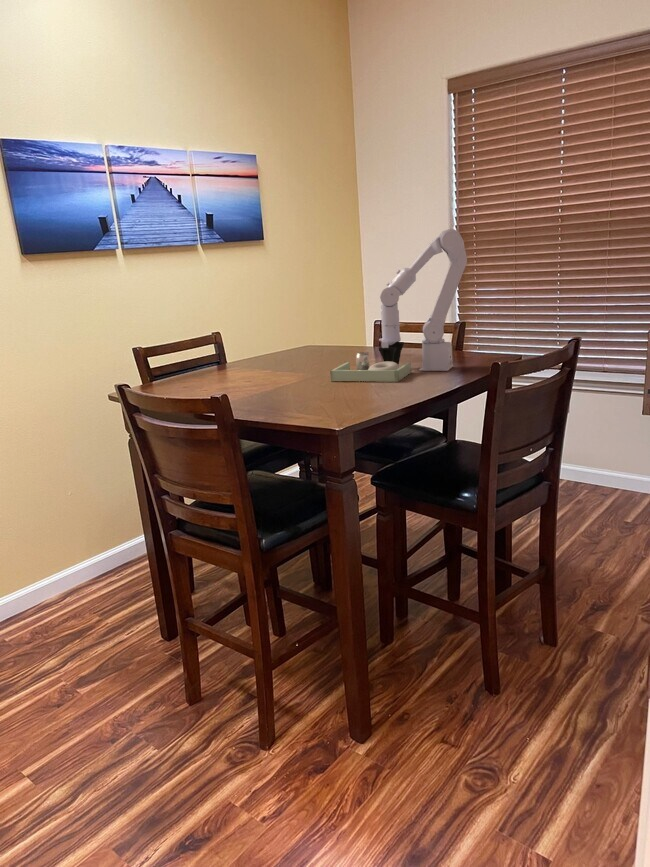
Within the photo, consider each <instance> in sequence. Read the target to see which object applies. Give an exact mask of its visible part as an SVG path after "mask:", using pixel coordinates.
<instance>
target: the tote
mask: <svg viewBox="0 0 650 867" xmlns="http://www.w3.org/2000/svg"><path fill="white" fill-rule="evenodd" d="M411 364H412V362H411V361H407V362H406V363H404V364H402V365H401V366H399V368H398V369H396V370H357V369H351V364H350V361H349V362H348V361H347V362H344V363H342V364H340V365H338V366H337V367H335V368H333V369H331V370H329V371H330V372H329V374H330V382H331V381H359V382H358V383H366V382H365V381H379V382H378V383H399V382H401V381H402V380H403V379H405V378H406V377H407V376H409V375H410V374H411V373H412V365H411ZM408 374H409V375H408ZM404 377H405V378H404ZM400 380H401V381H400ZM360 381H362V382H360ZM363 381H364V382H363Z"/></svg>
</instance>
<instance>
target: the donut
mask: <svg viewBox="0 0 650 867" xmlns="http://www.w3.org/2000/svg"><path fill="white" fill-rule="evenodd" d="M398 368H400V365H399V364H397V363H395V362H391V361H385V362H384V361H379V362H376V363H374V364H372V365H369V369H368V370H396V369H398Z"/></svg>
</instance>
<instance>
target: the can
mask: <svg viewBox="0 0 650 867" xmlns="http://www.w3.org/2000/svg"><path fill="white" fill-rule="evenodd" d="M369 355H370V353H369V352H367V351H362V352H355V363H356V365H355V366H356V368H355V369H356V370H368V369H369V367H370V356H369Z"/></svg>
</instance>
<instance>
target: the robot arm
mask: <svg viewBox="0 0 650 867" xmlns="http://www.w3.org/2000/svg"><path fill="white" fill-rule="evenodd" d="M465 247H466V246H465V241H464V239H463V237H462V235H461V234H460V232H459V231H458V230H456V229H454V228H448V229H446V230H444V231H442V232H441V233H440V234H439V235H438V236H437V237H435V238H434V239H432V241H431V242H430V243H428V244H427V245H426V246H425V248H424V249H423V250H422V251H421V252H420V254H419V255H418V256H417V257H416V259H415V260H414V261H413V262H412V264H410V265H409V267H403V268H401V270H400V269H398V270H396V275H395V276H394V277H393V279H392V280H391V281H390V282H387V283H386V286H387V287H385V288H383V290H382V291H381V293H380V296H379V298H380V302H381V306H380V308H381V312H380V317H381V336H382V338H379V339H378V341H379V342H381V346H379V347H378V351H379V352H380V356H382V359H383V362H385V361H391V362H395V363H397V364H398V365H399V364H400V359H401V353H402V350H403V348H404V345H405V342H404V341H402V342H401V340H402V339H401V334H400V333H401V330H400V310H399V307H398V306H399V305H398V302H399V299H400V296H403V295H404V294H405V293H406V292H407V291H408V290H409V289H410V288H411V286H413V284H414V283H415V282H416V281H417V274H418V272H420V270H421V269H423V267H425V265H426V264H427V263H428V262H429V261H430V259H432V258H433V257H434V256H435V255H438V254H441V253H443V251H444V252H445V253H446V256H447V258H448V260H449V262H450V264H449V267H448V269H447V272H446V275H445V278H444V280H443V283H442V285H441V288H440V291H439V294H438V296H437V299H436V302H435V304H434V307H433V309H432V311H431V313H430V315H429V317H428V320H427V321H425V323H424V324H423V326H422V334H423V336H424V339H422V341H421V345H422V346H421V348H422V349H421V350H422V351H421V352H422V353H421V354H422V366H421V367H420V368H419V369H418V370H419V372H420V371H422V372H423V371H424V372H426V371H429V372H430V371H433V372H434V371H435V372H436V371H438V372H440V371H441V372H444V371H446V372H448V371H449V370H450V369H452V368H453V367H454V365H453V345H452V344H453V343H452V342H451V341H445V339H444V338H443V337H444V333H445V331H444V327H445V324H446V321H447V319H446V318H447V315H448V313H449V310H450V308H451V305H452V303H453V300H454V297H455V295H456V292H457V290H458V287H459V284H460V282H461V279H462V276H463V274H464V271H465V269H466V266H467V263H468V258H467V253H466V248H465Z"/></svg>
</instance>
